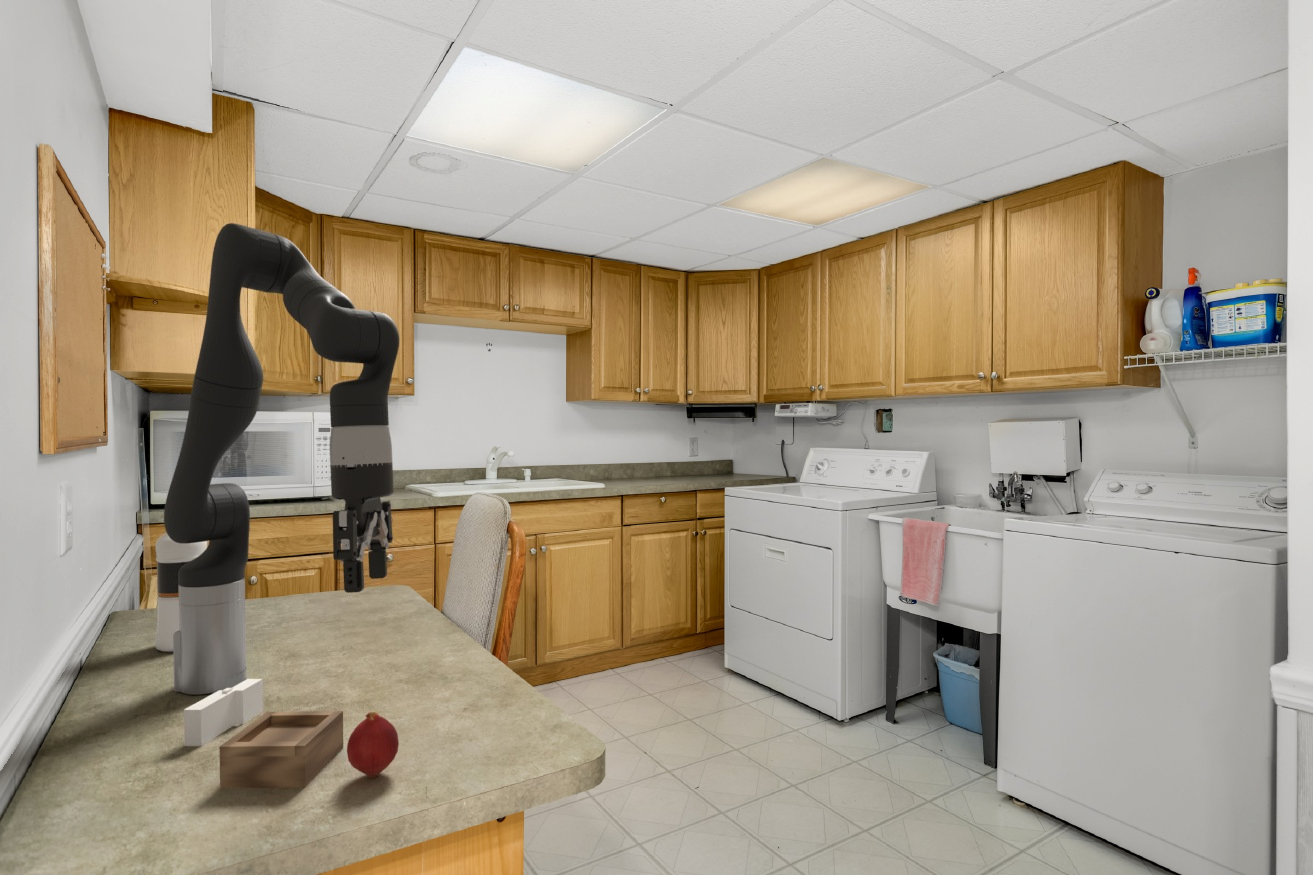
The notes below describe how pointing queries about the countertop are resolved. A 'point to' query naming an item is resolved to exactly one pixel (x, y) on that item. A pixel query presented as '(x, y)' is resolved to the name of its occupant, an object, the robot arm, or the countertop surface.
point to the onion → (372, 745)
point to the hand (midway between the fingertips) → (366, 584)
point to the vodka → (171, 585)
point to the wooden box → (281, 750)
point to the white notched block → (222, 711)
